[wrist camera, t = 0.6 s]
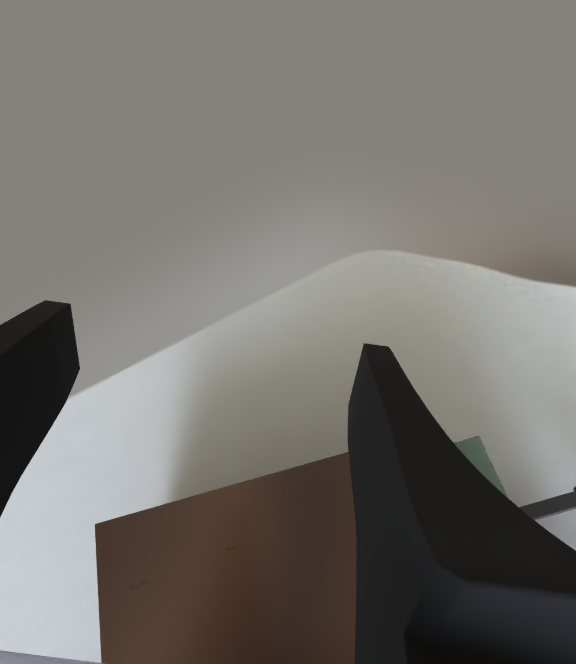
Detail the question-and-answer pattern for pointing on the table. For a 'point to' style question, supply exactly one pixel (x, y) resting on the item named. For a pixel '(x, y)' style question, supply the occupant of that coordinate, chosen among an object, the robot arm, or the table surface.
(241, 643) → the cabinet
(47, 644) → the table surface
